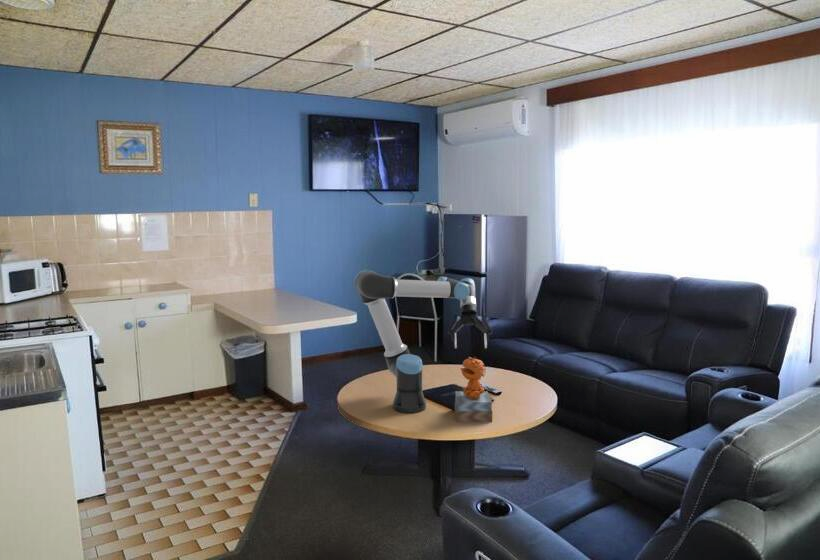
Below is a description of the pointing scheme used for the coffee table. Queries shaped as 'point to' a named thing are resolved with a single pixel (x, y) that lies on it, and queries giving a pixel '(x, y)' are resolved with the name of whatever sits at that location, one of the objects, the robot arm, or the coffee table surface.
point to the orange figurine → (473, 377)
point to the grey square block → (473, 408)
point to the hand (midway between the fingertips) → (470, 346)
